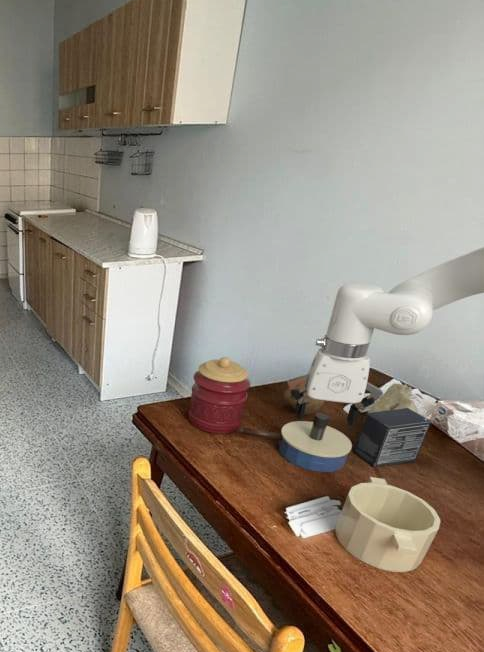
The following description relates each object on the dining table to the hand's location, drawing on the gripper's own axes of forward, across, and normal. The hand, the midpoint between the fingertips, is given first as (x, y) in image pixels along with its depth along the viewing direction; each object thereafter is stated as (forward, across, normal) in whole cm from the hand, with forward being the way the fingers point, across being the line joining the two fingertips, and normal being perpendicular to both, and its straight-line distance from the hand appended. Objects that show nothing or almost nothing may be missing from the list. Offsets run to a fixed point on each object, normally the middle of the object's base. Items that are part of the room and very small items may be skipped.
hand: (324, 420), depth 102 cm
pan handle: (+6, -12, 0) cm, 13 cm away
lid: (+5, -1, 0) cm, 5 cm away
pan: (+9, -1, 0) cm, 9 cm away
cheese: (+10, +18, +21) cm, 30 cm away
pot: (+9, +6, -26) cm, 28 cm away
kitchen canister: (+9, -22, +8) cm, 25 cm away
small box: (+10, +14, +4) cm, 18 cm away
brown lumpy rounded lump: (+9, -1, +19) cm, 21 cm away
